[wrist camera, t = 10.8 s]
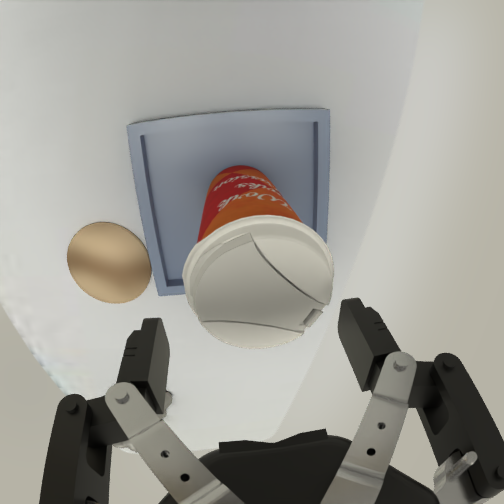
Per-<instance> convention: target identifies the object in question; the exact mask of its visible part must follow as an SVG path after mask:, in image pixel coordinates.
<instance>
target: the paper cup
mask: <svg viewBox="0 0 504 504" xmlns="http://www.w3.org/2000/svg"><path fill="white" fill-rule="evenodd" d="M182 277H183V282H184V287H185V293H186V297H187V300H188V303H189V305H190V307H191V308H192V310H193V312H194V313H195V314H196V315H197V317H198V319H199V321H200V323H201V325H202V326H203V327H204V328H205V329H206V330H207V331H208V332H209V333H210V334H212V335H213V336H214V337H215V338H217V339H219V340H221V341H222V342H225V343H227V344H230V345H233V346H237V347H241V348H249V349H261V348H270V347H274V346H279V345H282V344H285V343H288V342H290V341H292V340H294V339H296V338H298V337H300V336H302V335H303V334H304V330H305V329H306V328H307V327H311V325H312V324H313V323H314V322H315V321H316V320H317V319H318V317H319V316H320V315H321V314H322V313H323V312H322V311H321V310H322V309H323V308H324V307H325V305H329V302H330V299H331V296H332V289H333V277H334V264H333V260H332V255H331V253H330V251H329V249H328V246H327V245H326V244H325V242H324V241H323V239H322V238H321V237H320V236H319V235H318V234H317V233H316V232H315V231H314V230H313V229H311V228H310V227H308V226H307V225H305V224H303V223H302V221H301V220H300V219H299V217H298V216H297V215H296V213H295V212H294V211H293V209H292V208H291V207H290V205H289V204H288V203H287V201H286V200H285V199H284V198H283V196H282V195H281V194H280V192H279V191H278V190H277V189H276V187H275V186H274V185H273V184H272V182H271V181H270V180H269V179H268V178H267V177H266V176H265V175H264V174H263V173H262V172H260V171H259V170H257V169H255V168H253V167H250V166H245V165H237V166H232V167H229V168H226V169H224V170H223V171H221V172H220V173H219V174H218V175H217V176H216V177H215V178H214V179H213V181H212V182H211V184H210V186H209V189H208V192H207V196H206V200H205V204H204V209H203V214H202V219H201V224H200V229H199V235H198V240H197V244H195V246H194V247H193V249H192V250H191V252H190V253H189V255H188V257H187V260H186V262H185V264H184V269H183V273H182Z"/></svg>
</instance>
